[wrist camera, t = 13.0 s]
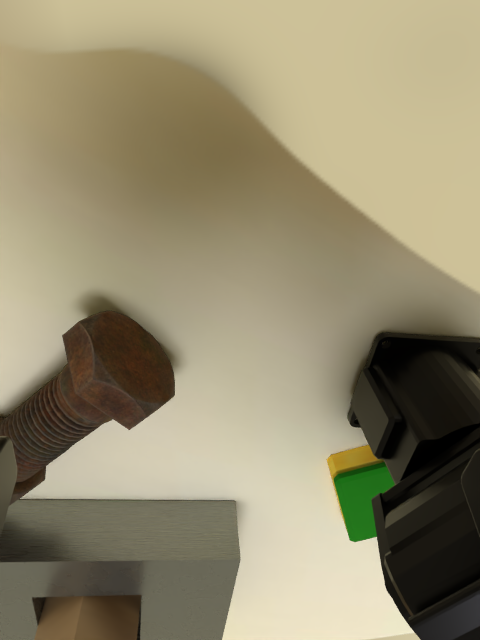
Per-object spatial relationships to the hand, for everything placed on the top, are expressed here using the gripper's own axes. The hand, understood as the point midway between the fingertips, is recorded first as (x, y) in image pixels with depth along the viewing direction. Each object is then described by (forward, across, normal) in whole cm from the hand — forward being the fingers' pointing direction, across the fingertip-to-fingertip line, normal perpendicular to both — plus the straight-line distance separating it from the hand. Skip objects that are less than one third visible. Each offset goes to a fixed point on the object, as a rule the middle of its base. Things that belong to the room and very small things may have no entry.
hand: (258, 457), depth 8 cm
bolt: (+14, +9, +11) cm, 19 cm away
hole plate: (+13, +6, +26) cm, 30 cm away
